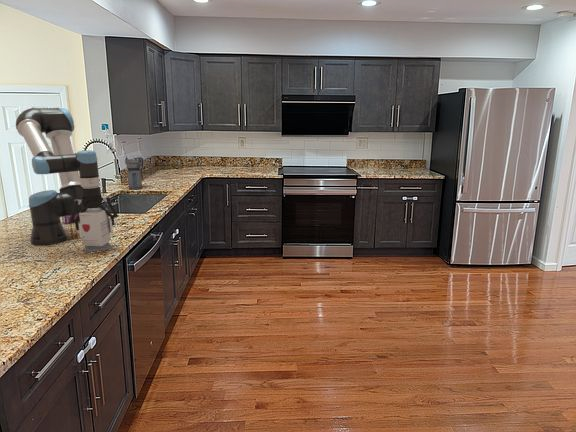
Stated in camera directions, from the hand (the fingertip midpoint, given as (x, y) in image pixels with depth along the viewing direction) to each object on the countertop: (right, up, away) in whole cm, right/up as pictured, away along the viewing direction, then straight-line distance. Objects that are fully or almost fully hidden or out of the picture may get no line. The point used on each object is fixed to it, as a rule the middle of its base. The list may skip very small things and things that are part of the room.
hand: (96, 234), depth 184 cm
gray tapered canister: (-33, +30, +140) cm, 147 cm away
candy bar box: (-34, +5, +46) cm, 58 cm away
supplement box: (0, -4, +1) cm, 4 cm away
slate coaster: (0, -6, +2) cm, 7 cm away
